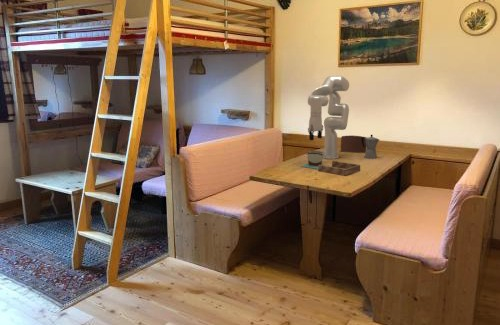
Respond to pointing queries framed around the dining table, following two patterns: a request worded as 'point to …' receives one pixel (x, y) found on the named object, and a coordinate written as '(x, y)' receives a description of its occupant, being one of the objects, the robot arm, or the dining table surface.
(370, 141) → the coffeepot
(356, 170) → the frame
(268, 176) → the dining table surface
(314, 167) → the mat
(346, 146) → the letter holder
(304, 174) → the dining table surface
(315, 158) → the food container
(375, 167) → the dining table surface
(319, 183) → the dining table surface
